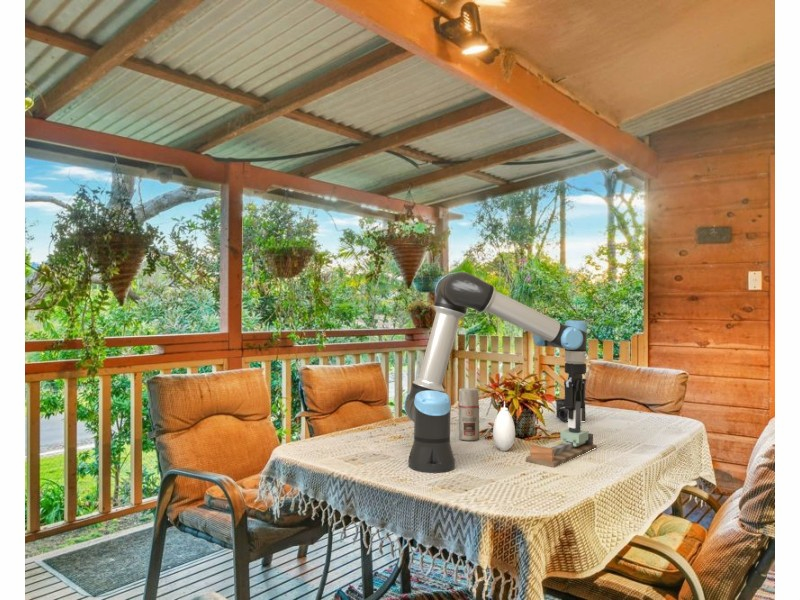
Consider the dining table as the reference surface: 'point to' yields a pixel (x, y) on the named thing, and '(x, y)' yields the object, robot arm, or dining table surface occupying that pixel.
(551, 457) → the rail bed
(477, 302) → the robot arm
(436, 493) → the dining table surface
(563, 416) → the camera
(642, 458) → the dining table surface
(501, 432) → the white air blower bulb
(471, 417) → the spray can
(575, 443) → the green base with post
